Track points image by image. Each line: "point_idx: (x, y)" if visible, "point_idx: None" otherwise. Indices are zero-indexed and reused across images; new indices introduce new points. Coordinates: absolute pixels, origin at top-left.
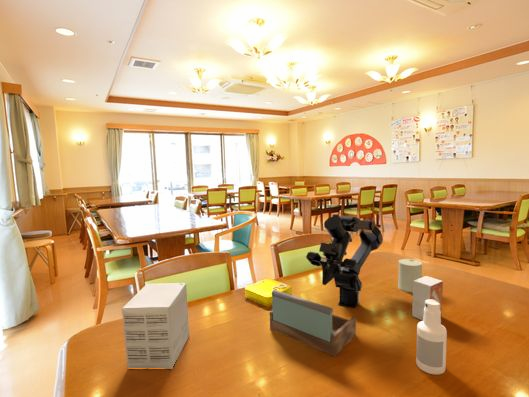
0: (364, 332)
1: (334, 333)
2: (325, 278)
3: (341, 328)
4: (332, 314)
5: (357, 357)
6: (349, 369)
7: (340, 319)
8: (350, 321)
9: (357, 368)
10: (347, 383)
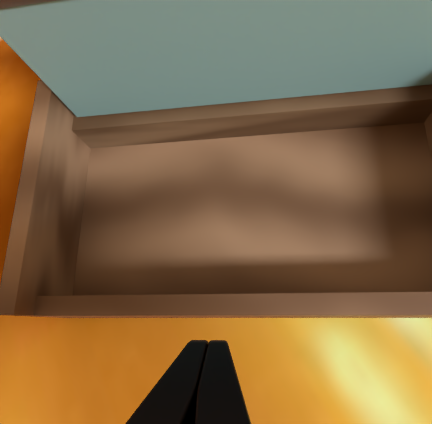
0: (36, 376)
1: (46, 98)
2: (174, 405)
3: (31, 154)
4: (166, 315)
5: (18, 179)
6: (25, 109)
7: (104, 295)
8: (10, 249)
9: (5, 129)
10: (14, 59)
